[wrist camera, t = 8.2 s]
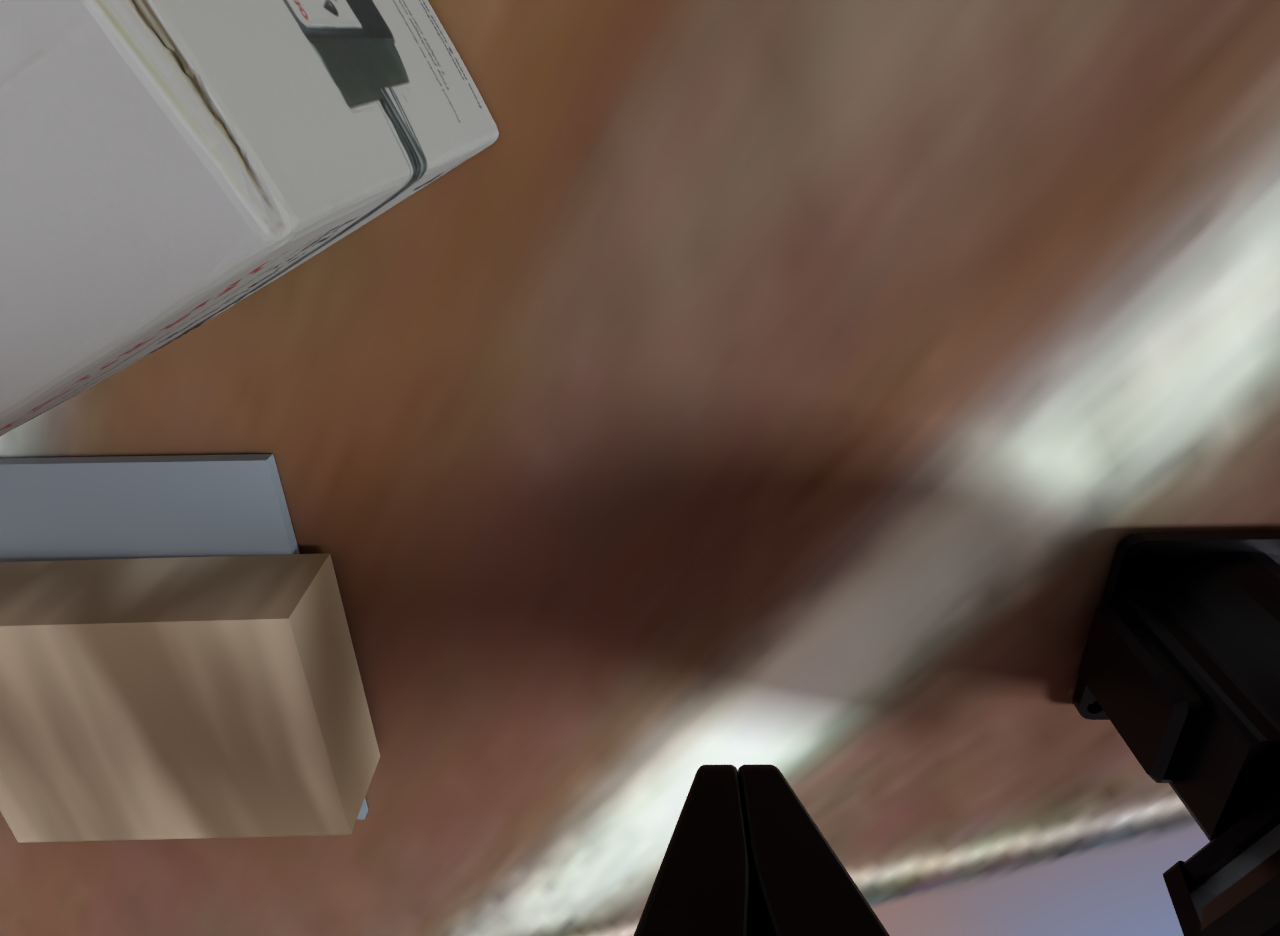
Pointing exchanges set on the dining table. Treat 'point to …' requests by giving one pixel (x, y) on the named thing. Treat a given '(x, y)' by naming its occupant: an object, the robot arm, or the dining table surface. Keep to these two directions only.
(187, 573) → the maple slab
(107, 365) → the ink box
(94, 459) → the rubber mat
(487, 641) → the dining table surface
